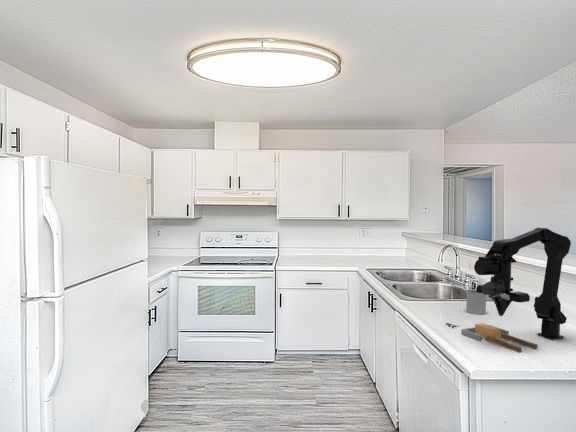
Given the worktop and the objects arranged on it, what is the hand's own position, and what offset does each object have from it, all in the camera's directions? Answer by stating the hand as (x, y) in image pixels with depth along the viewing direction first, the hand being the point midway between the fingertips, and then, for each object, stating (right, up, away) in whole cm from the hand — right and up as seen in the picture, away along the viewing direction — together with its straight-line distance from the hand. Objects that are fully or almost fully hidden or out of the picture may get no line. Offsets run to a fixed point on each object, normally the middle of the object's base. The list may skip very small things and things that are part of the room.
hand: (500, 315), depth 154 cm
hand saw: (-16, -9, +26) cm, 32 cm away
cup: (+9, -9, +41) cm, 43 cm away
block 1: (-3, -9, +7) cm, 12 cm away
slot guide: (+2, -10, -4) cm, 10 cm away
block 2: (-2, -10, +4) cm, 10 cm away
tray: (-3, -9, +6) cm, 12 cm away
